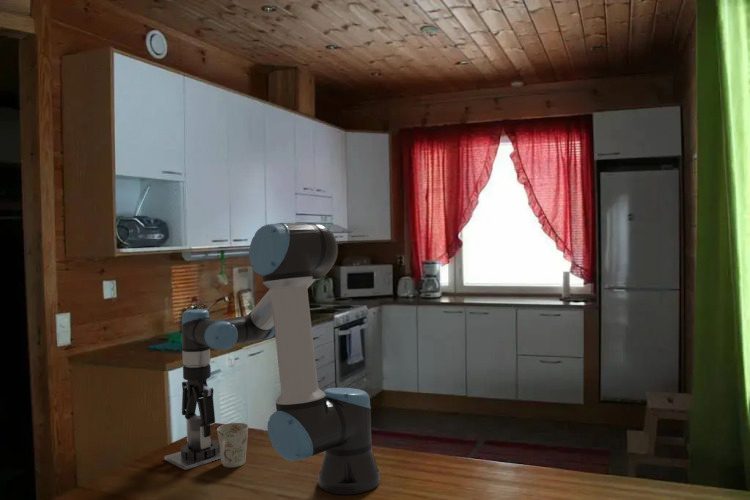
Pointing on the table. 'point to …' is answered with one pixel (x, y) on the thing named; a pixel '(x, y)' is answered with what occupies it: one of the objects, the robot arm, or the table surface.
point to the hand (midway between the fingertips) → (198, 444)
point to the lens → (195, 433)
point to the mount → (194, 456)
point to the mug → (233, 443)
